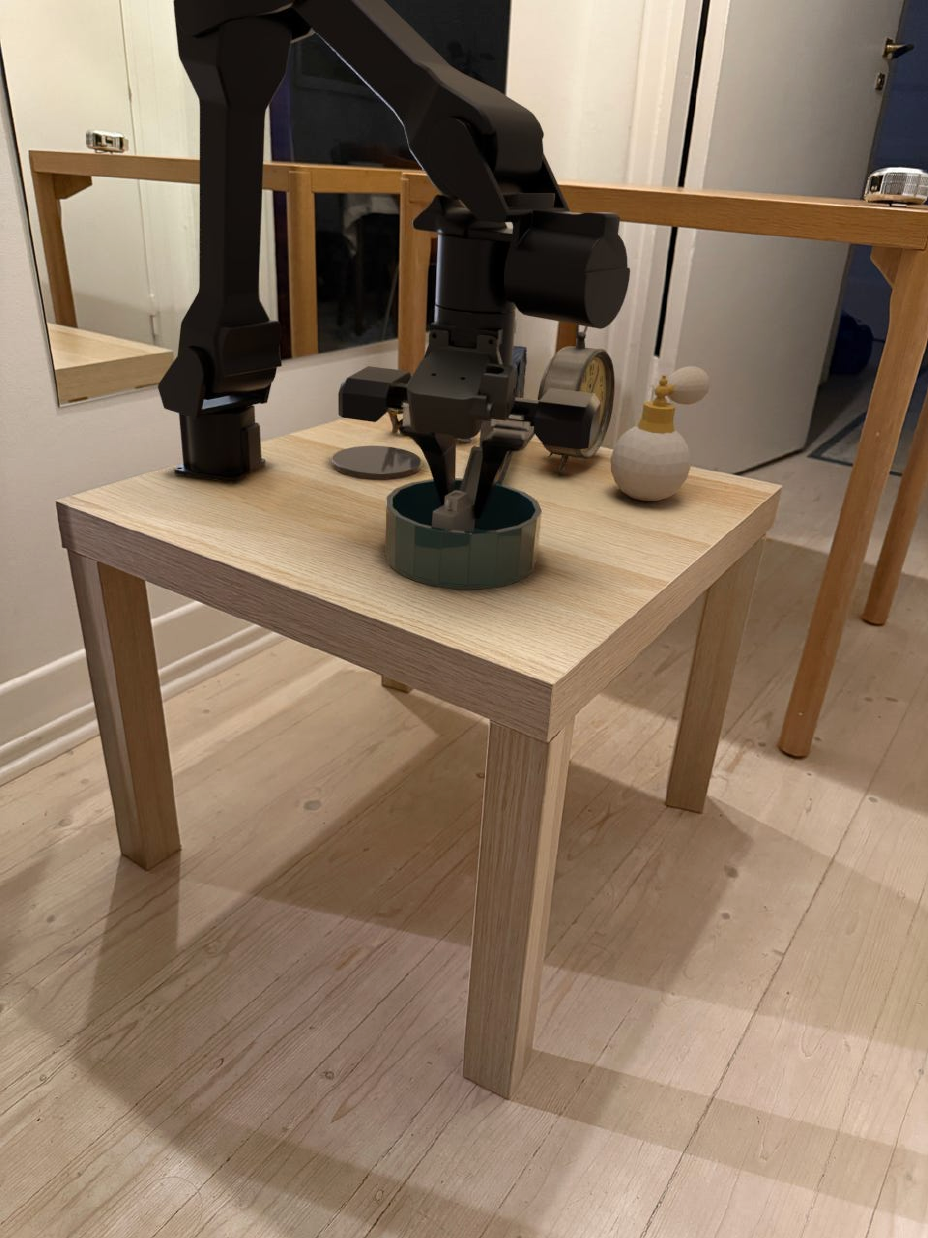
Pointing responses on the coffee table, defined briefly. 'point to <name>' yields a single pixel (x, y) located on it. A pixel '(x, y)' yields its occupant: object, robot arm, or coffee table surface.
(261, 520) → the coffee table surface
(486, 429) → the vhs cassette tape
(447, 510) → the lighter
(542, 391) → the alarm clock
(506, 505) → the shallow faceted bowl
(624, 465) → the perfume bottle
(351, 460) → the coaster
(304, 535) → the coffee table surface
